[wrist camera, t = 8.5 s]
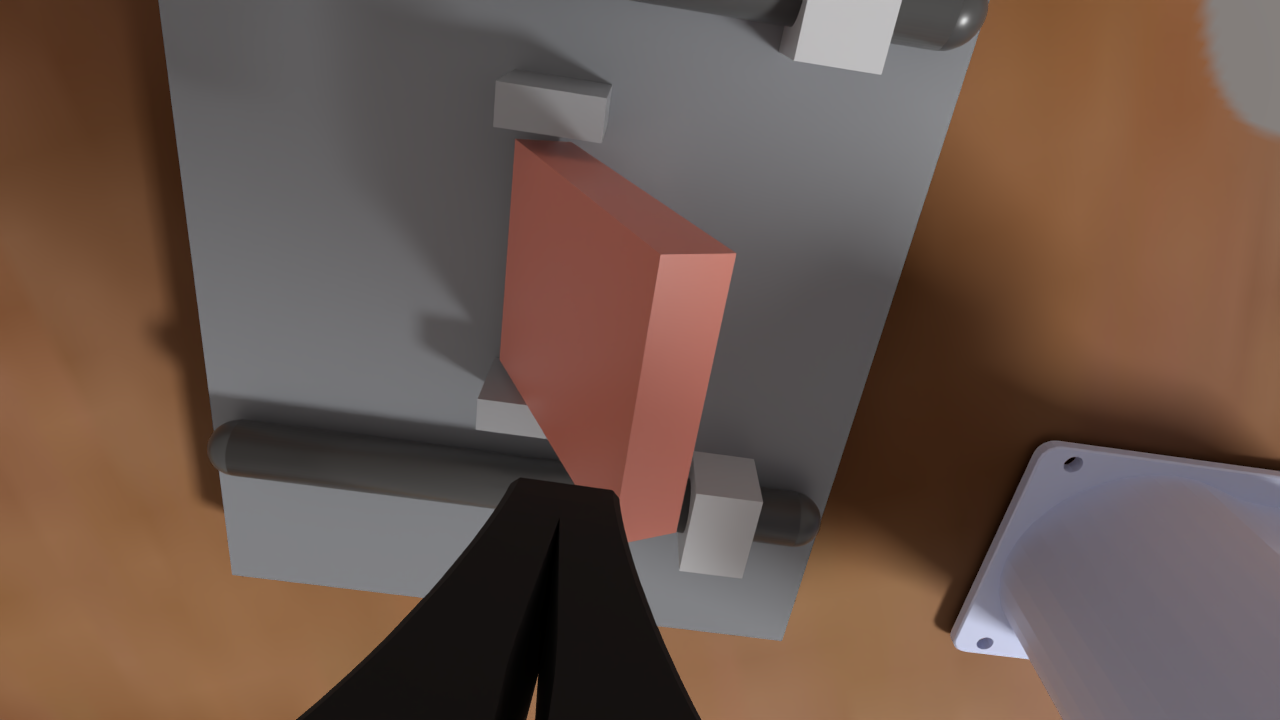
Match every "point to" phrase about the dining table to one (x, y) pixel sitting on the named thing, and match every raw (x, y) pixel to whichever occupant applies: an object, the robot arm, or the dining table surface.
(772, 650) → the dining table surface
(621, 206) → the lever
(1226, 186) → the dining table surface
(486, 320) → the box
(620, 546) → the robot arm
